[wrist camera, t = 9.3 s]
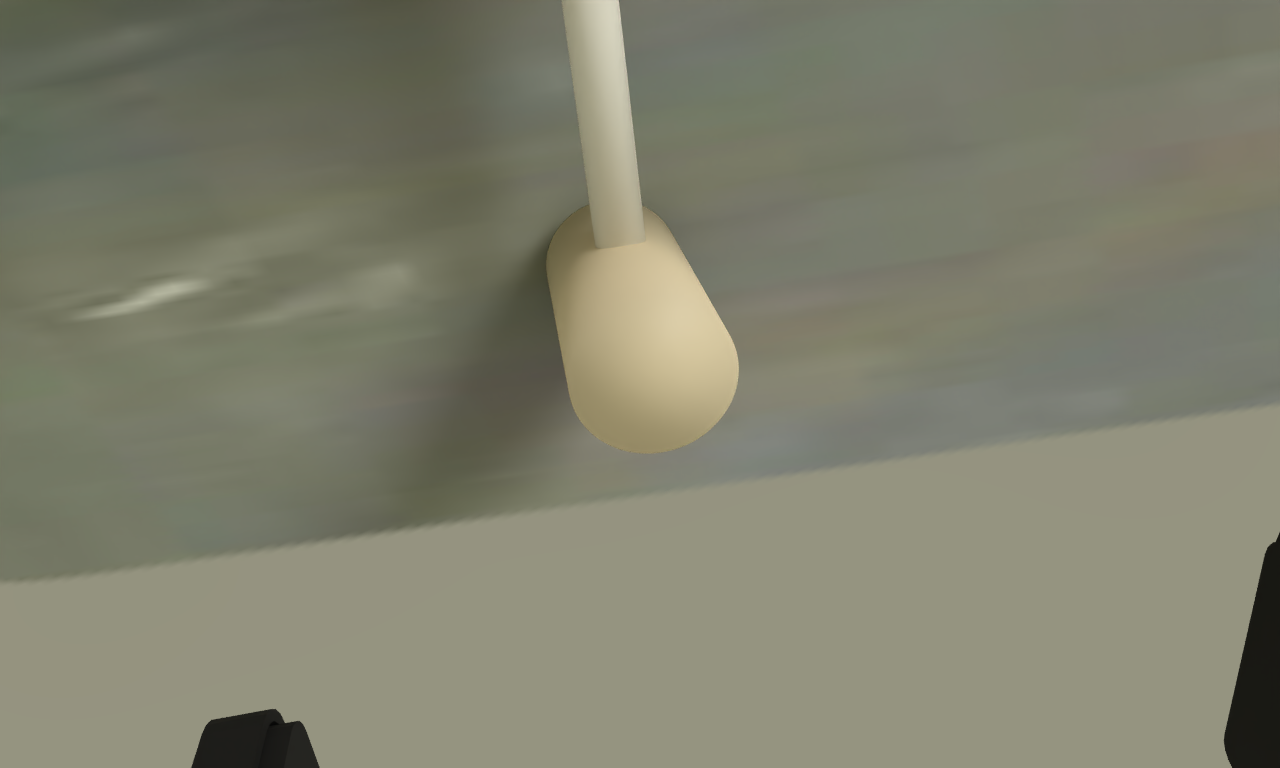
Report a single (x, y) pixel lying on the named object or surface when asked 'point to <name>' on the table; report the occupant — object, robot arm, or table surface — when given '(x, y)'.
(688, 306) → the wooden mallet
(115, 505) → the table surface
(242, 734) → the robot arm
